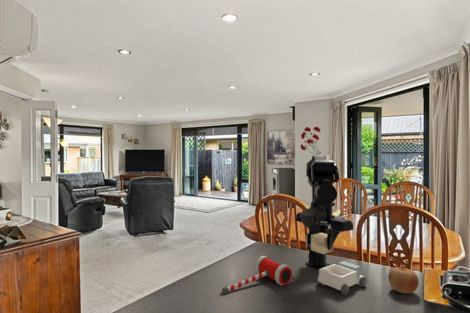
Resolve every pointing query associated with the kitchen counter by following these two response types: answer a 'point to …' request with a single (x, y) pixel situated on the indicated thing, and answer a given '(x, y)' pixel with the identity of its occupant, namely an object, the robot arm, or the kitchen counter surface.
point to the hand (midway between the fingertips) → (322, 247)
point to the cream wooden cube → (320, 243)
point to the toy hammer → (266, 273)
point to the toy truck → (341, 276)
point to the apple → (403, 280)
